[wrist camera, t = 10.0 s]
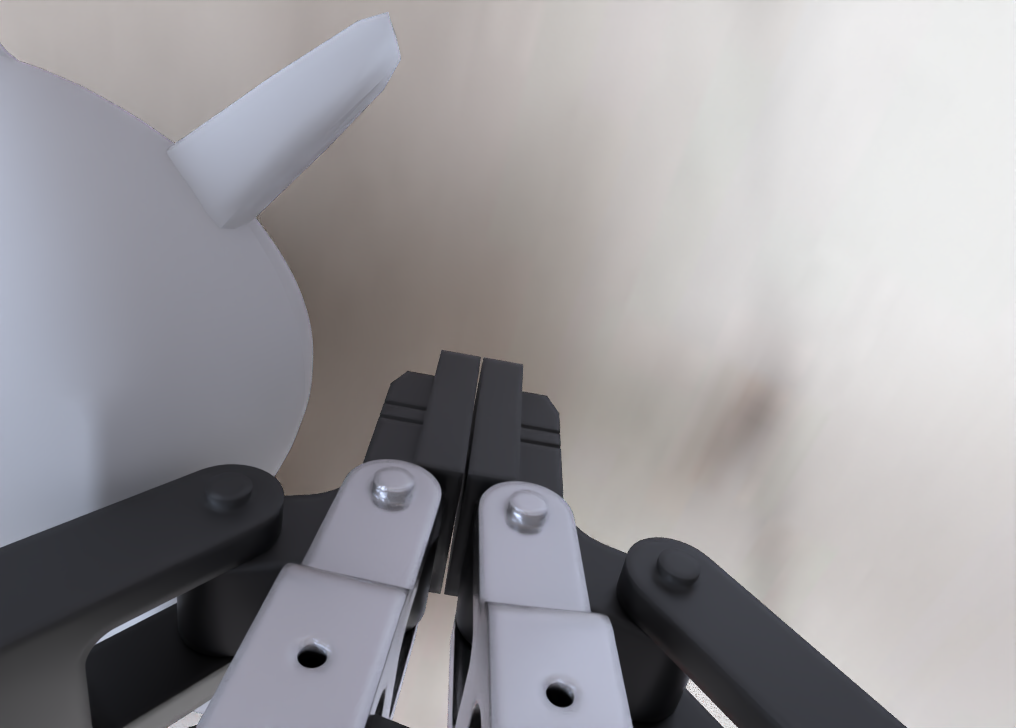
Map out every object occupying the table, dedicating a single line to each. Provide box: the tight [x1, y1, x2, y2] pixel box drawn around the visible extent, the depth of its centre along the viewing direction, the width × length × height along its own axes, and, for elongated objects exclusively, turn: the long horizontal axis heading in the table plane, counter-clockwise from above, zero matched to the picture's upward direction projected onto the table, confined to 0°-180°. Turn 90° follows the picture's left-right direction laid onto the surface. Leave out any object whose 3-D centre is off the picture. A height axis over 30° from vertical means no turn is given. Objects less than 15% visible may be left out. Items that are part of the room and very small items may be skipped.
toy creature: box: [0, 12, 401, 714], centre depth 14 cm, size 13×7×20 cm
